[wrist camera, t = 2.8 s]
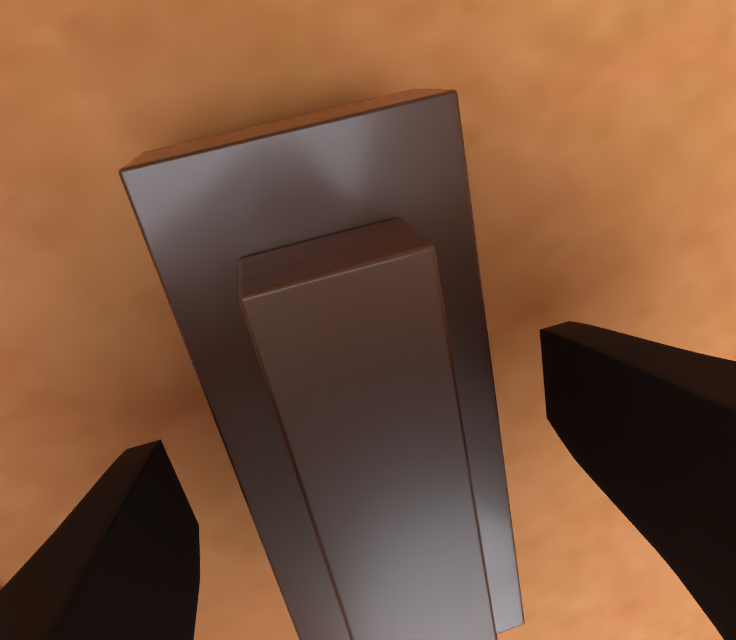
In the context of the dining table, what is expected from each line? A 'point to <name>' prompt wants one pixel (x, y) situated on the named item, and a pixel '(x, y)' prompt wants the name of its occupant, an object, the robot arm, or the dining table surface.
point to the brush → (346, 359)
